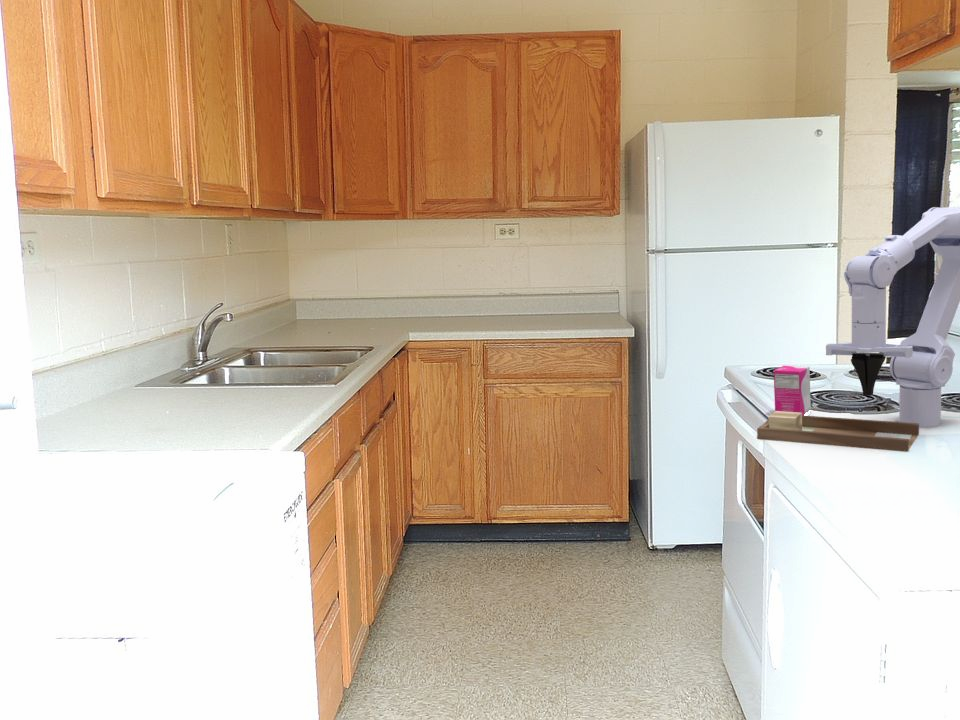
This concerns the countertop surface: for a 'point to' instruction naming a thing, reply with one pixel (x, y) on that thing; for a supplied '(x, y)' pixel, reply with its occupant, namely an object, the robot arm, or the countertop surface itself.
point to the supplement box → (792, 389)
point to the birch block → (786, 420)
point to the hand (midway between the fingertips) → (868, 394)
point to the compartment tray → (845, 433)
